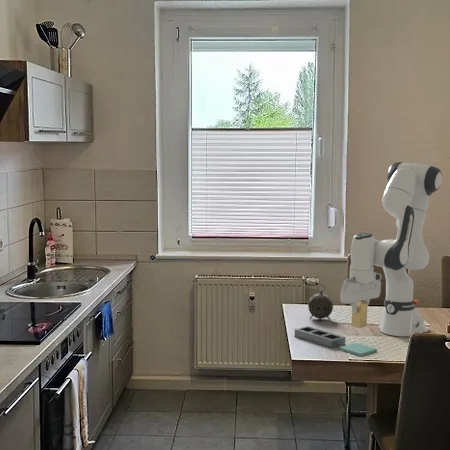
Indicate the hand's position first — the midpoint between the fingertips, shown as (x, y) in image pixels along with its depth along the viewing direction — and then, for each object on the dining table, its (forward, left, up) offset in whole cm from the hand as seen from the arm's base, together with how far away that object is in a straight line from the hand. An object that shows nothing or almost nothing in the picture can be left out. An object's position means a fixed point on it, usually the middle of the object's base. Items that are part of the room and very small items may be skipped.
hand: (359, 311), depth 245 cm
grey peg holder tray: (+2, -18, -15) cm, 24 cm away
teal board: (0, 0, -15) cm, 15 cm away
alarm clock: (-22, -39, -16) cm, 47 cm away
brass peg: (0, 0, -6) cm, 6 cm away
